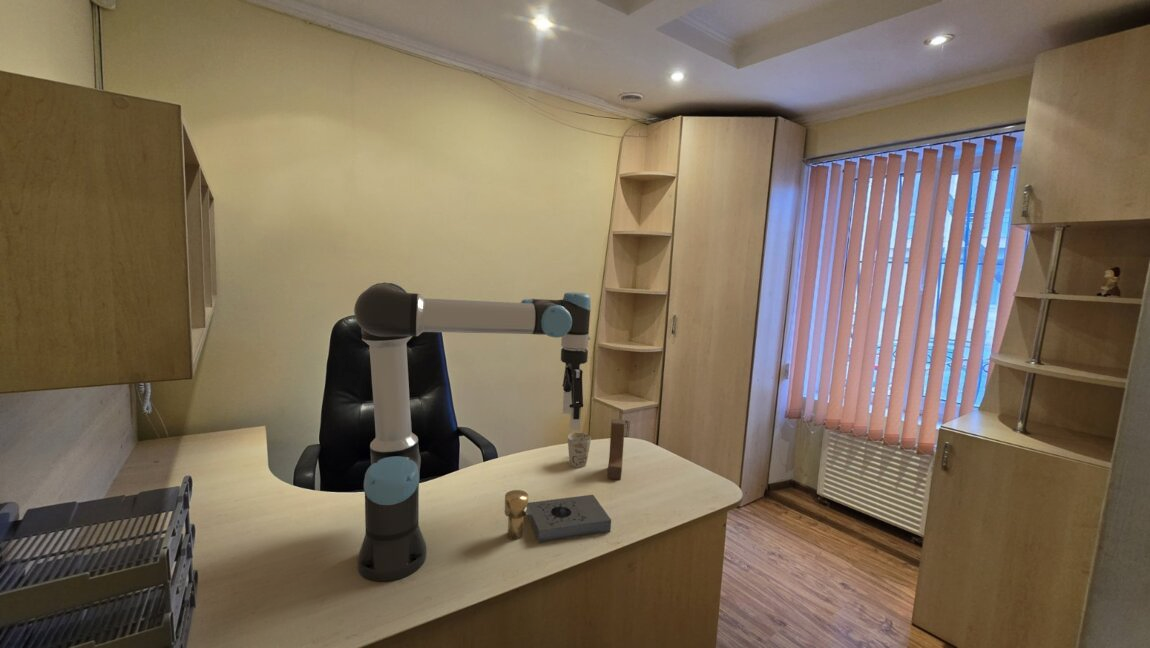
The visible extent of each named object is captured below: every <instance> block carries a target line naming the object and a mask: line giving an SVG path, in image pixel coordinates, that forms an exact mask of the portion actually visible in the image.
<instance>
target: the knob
mask: <svg viewBox="0 0 1150 648" xmlns="http://www.w3.org/2000/svg"><path fill="white" fill-rule="evenodd" d="M528 503H529V494H528V493H527V492H526V491H525V490H521V489H514V490H510V491H507V492H506V493H505V494H504V515H505V516H506V517H508V518H507V537H508V538H509V539H511V540H519V539H522V538H523V536H524V517H525V516H527V513H528Z"/></svg>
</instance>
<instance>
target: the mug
mask: <svg viewBox="0 0 1150 648" xmlns="http://www.w3.org/2000/svg"><path fill="white" fill-rule="evenodd" d="M591 441H592V437H591V435H589V434H587V433H583V432H574V433H569V434H568V435H567V448H568V461H569V465H570V466H572V467H574V468H584V467H586V466H587V463H588V458H589V452H590V448H591Z"/></svg>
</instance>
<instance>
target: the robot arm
mask: <svg viewBox="0 0 1150 648" xmlns="http://www.w3.org/2000/svg"><path fill="white" fill-rule="evenodd" d="M591 311H592V310H591V296H590V295H589V294H587V293H584V292H565V293H564V295H563V298H562V299H543V298H542V299H541V298H539V299H538V298H537V299H536V298H524V299H522V300H521V301H520V302H510V301H509V302H506V301H505V302H504V301H489V300H487V301H486V300H466V299H465V300H464V299H443V298H442V299H441V298H424V297H423V296H422V295H421V294H420V293H413V292H407V291H406V289H404V288H403V287H402V286H400V285H399V284H397V283H392V282H378V283H376V284H373V285H371V286H369V287H368V288H367V289H366V290H364V291H363V292H362V293H360V295H359V296H358V297H357V298H356V302H355V304H354V309H353V313H354V317H355V321H356V323H357V324H358V326H359V327H360V328H361V329H360V330H361V341H363V342H364V343H365V344H367V345H368V346H369V358H370V359H369V360H370V371H371V372H370V374H371V388H372V401H373V415H374V427H375V428H374V429H375V430H374V432H375V438H373V440H372V441H371V442H370V445H369V452H370V464H371V465H369V467H368V468H367V470H366V472H365V473H364V480H363V489H364V490H363V491H364V514H365V517H364V522H365V524H364V525H365V534H364V537H363V541H362V543H361V546H360V549H359V552H358V555H357V572H358V573H359V574H360V576H361V577H362V578H365V579H367V580H370V581H372V582H391V581H396V580H399V579H403V578H405V577H407V576H410V575H412V574H413V573H415V572H416V571H418V570H419V569H420V568H422V566H423V565H424V563H425V561H426V559H427V543H426V542H425V539H424V538H425V537H424V535H423V533H422V531H421V528H420V525H419V522H420V521H419V515H420V514H419V510H420V509H419V508H420V506H419V500H420V499H419V490H420V489H419V488H420V473H421V472H420V470H421V469H420V468H421V464H422V463H421V462H422V460H421V455H420V449H419V448H420V447H419V438H418V436H417V435H416V434H415V433H413V432H412V419H411V417H412V416H411V402H410V387H409V385H410V383H409V382H410V381H409V367H408V366H409V365H408V349H407V348H408V347H407V343H408V342H409V341H410V340H411V339H412V338H413V337H419V336H420V335H421V334H422V333H458V334H459V333H469V334H474V333H475V334H477V333H478V334H513V335H516V334H517V335H538V336H540V335H543V336H545V335H546V336H548V337H550V338H557V339H558V338H561V341H560V342H561V343H560V346H561V347H562V348H561V350H560V361H561V362H562V363H564V364H565V367H564V374H563V379H562V380H563V381H562V388H563V394H562V396H563V397H562V414H565V415H566V414H570V415H569V417H570V418H569V430H570V431H580V430H581V420H582V419H581V418H582V416H581V414H582V408H583V407H584V396H583V395H584V393H583V391H584V390H583V373H584V371H583V370H582V369H581V368H580V367H581V366H580V365H582V364H586V363H587V362H588V357H589V356H588V355H589V351H588V349H587V348H588V347H589V341H590V340H591V336H589V335H590V331H589V330H590V320H591Z"/></svg>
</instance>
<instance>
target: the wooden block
mask: <svg viewBox="0 0 1150 648" xmlns="http://www.w3.org/2000/svg"><path fill="white" fill-rule="evenodd" d="M625 426H626V421H625V419H618V418H612V420H611V424H610V439H609V458H608V465H607V466H608V467H607V479H610V480H611V479H612V480H622V472H623V458H624V443H625V442H624V441H625V429H626V428H625Z"/></svg>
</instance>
